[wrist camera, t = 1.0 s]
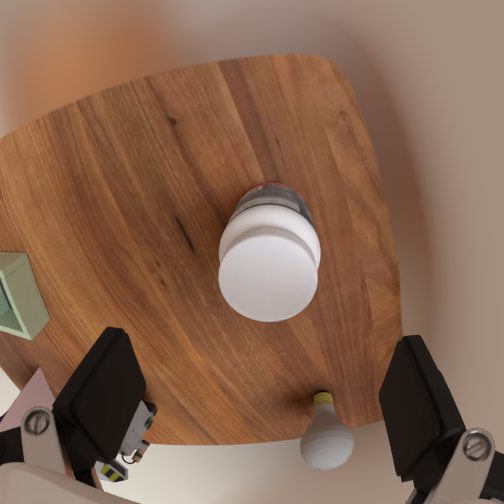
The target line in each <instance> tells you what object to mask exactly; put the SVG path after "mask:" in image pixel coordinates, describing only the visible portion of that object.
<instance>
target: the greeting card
mask: <svg viewBox="0 0 504 504" xmlns="http://www.w3.org/2000/svg"><path fill="white" fill-rule="evenodd" d="M54 401H55V398H54V396H53V394H52V392H51V390H50V388H49V385H48V383H47V381H46V379H45V376H44V374H43V372H42V369H41V367H39V368H38V370H37V371H36V372H35V374H34V375H33V376H32V377H31V379H30V380H29V381H28V383H27V384H26V386H25V387H24V388H23V390H22V391H21V393H20V394H19V395H18V397H17V399H16V400H15V401H14V403H13V404H12V406H11V407H10V408H9V410H8V411H7V412H6V413H5V414H4V415H3V416H1V417H0V432H2V431H5V430H9V429H12V428H15V427H18V426H21V420H22V417H23V415H24V414H25V413H26V412H27V411H28V410H29V409H30V408H33V407H35V406H44V407H47V408H48V409H50V410H52V409H53V407H52V404H53V403H54Z"/></svg>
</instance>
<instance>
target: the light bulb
mask: <svg viewBox="0 0 504 504" xmlns="http://www.w3.org/2000/svg"><path fill="white" fill-rule="evenodd" d="M314 405H315V406H314V407H315V409H314V415H315V416H314V419H313V421H312V423H311V424H310V426H309V427H308V429H307V430H306V432H305V433H304V435H303V437H302V440H301V444H300V448H301V454H302V457H303V458H304V460H305V461H306V462H307V463H308V464H309V465H310V466H312V467H314V468H317V469H332V468H335V467H338V466H340V465H341V464H343V463H344V462H345V461H346V460H347V459H348V458H349V457H350V455H351V453H352V450H353V445H354V442H353V436H352V434H351V431H350V430H349V429H348V427H347V426H346V425H345V424H344V423H343V422H342V421H340V419H339V418H338V417H337V416H336V414H335V409H334V406H333V400H332V396H331V394H330V393H327V392H321V393H318V394H316V395H315V397H314Z"/></svg>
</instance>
